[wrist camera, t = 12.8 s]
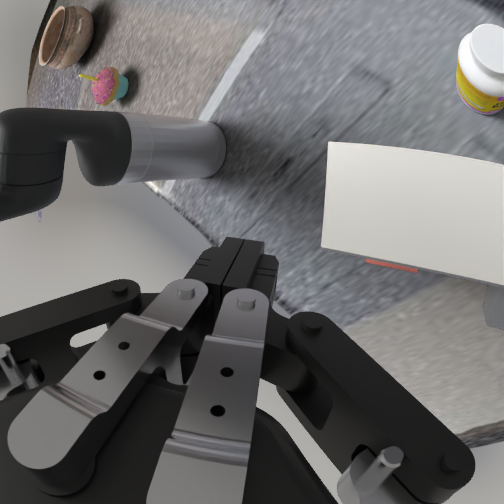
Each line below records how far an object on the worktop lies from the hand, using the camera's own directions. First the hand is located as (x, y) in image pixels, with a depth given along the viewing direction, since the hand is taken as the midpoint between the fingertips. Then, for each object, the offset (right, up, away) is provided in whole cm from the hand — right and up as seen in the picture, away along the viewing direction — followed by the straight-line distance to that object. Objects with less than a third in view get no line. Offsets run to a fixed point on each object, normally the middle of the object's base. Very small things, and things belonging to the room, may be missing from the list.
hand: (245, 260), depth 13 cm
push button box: (+24, +6, +17) cm, 30 cm away
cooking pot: (-45, +59, +51) cm, 90 cm away
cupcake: (-27, +36, +45) cm, 64 cm away
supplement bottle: (+26, +19, +12) cm, 35 cm away
